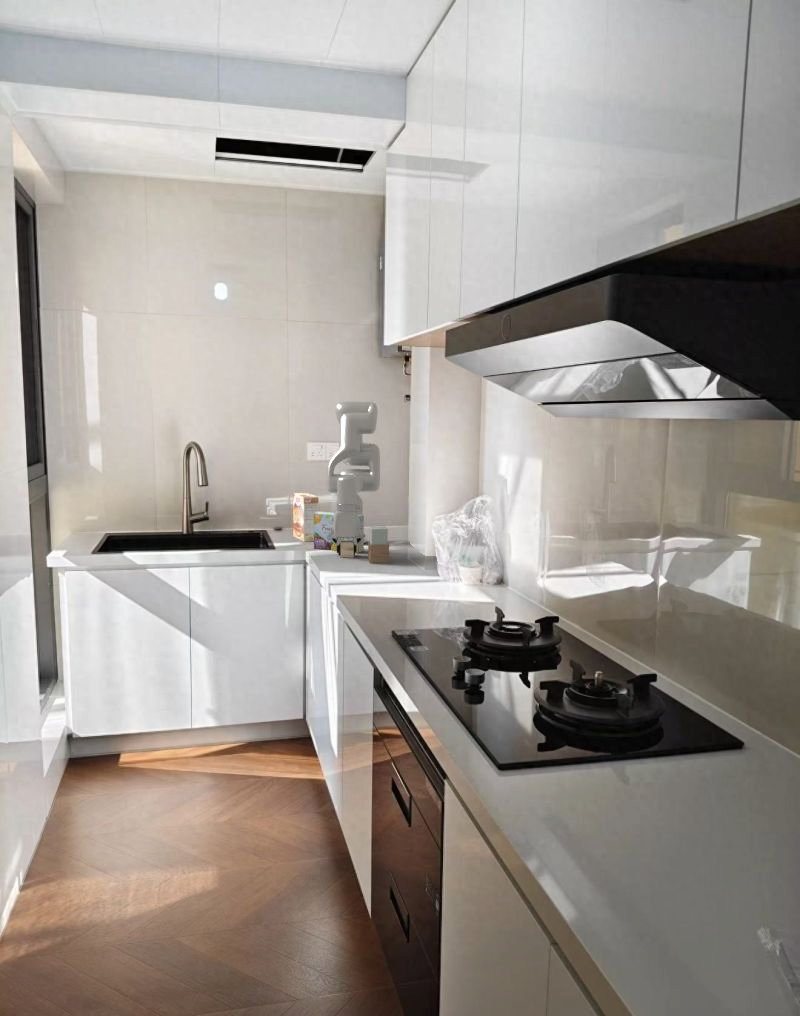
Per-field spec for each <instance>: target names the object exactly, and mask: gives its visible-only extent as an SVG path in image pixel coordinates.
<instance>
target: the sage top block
mask: <svg viewBox="0 0 800 1016" xmlns="http://www.w3.org/2000/svg"><path fill="white" fill-rule="evenodd" d="M388 530H389V529H388V528H387V527H386V526H369V542H370V543H371V545H388V544H389V543H388V542H389V540H388V539H389V537H388V533H389V532H388Z"/></svg>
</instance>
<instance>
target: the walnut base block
mask: <svg viewBox="0 0 800 1016" xmlns="http://www.w3.org/2000/svg"><path fill="white" fill-rule="evenodd" d="M367 546H368V549H367V552H368V553H367V561H368V560H369V561H368V562H369V564H370V563H378V564H390V544H389V543H388V545H371V543H370V541H368V543H367Z"/></svg>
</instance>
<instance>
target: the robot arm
mask: <svg viewBox="0 0 800 1016" xmlns="http://www.w3.org/2000/svg"><path fill="white" fill-rule="evenodd" d="M378 412H379V411H378V406H377V404H376V403H375V402H372V401H340V402H338V403H336V406H335V415H336V418H337V419H336V420H337V422H338V424H339V432H338V433H339V436H338V437H339V439H338V450H337V451H336V452H335V453H334V454H333V455H332V457H331V458H330V459H329V462H328V463H327V467H326V484H325V485H326V489H327V491H328V492H329V493H331V494H336V511H335V512H334V513H335V515H334V526H333V530H332V531H331V532H330V533H329V535H328V537H329V538H330V539H331V540H332V541H333V542H334V543H336V544H337V551H336V553H337V554H338V556H340V555H341V546H340V540H341V538H353V542H354V556H355V555H356V554H358V553H357V544H358V543H359V542H360V541H361V540H362V539H363V538H364V543H365V544H366V543H367V539H365V538H366V534H364V533H365V532H364V533H363V532H362V531H361V529H360V522H359V515H363V516H364V502H363V499H362V497H361V496H360V495H359V494H358V493H360V492H365V493H366V492H367V493H369V492H370V493H371V492H372V493H373V492H374V493H375V492H377V491H379V489H380V486H381V453H380V447H379V446H378V445H377V444H375V443H367V442H366V443H364V442H363V434H364V435H366V434H367V435H368V434H369V435H371V434H374V433H375V432H376V429H377V423H378V422H377V420H378ZM341 462H343V464H344V465H346V466H349V467H350V466H353V467H355V466H356V467H357V466H358V467H368V468H369V469H368V468H367V469H366V468H364V469H362V468H361V469H360V468H345V469H343V470H341V471H340V472H339V474H338V473H337V474H336V473H335V469H336V466H338V464H339V463H341ZM333 534H334V536H335V537H337V540H336V539H335V538H334V537H333V536H332V535H333ZM360 534H361V536H360V537H359V535H360ZM356 537H359V538H357V539H356Z"/></svg>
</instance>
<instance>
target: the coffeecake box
mask: <svg viewBox="0 0 800 1016" xmlns="http://www.w3.org/2000/svg"><path fill="white" fill-rule="evenodd" d="M292 500H293V501H292V509H293V511H292V514H293V515H292V518H293V519H292V520H293V521H292V523H293V525H292V527H293V529H292V531H293V533H292V534H293V536H292V537H293V538H295V539H297V540H300V541H301V542H304V543H310V542H314V513H315V512H319V496H317V495H314V494H310V493H307V492H296V493H292Z"/></svg>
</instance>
